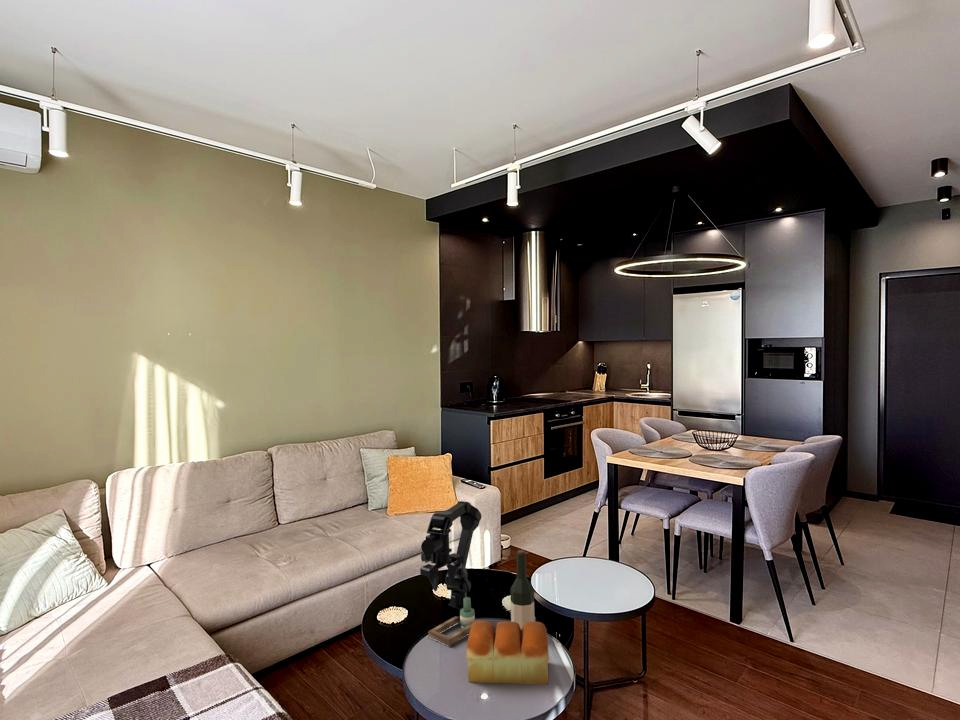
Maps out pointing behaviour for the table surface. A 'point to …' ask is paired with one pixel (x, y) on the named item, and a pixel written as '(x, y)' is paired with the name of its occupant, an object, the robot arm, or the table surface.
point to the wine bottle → (522, 594)
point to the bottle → (467, 613)
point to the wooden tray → (453, 638)
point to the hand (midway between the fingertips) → (443, 587)
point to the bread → (508, 653)
